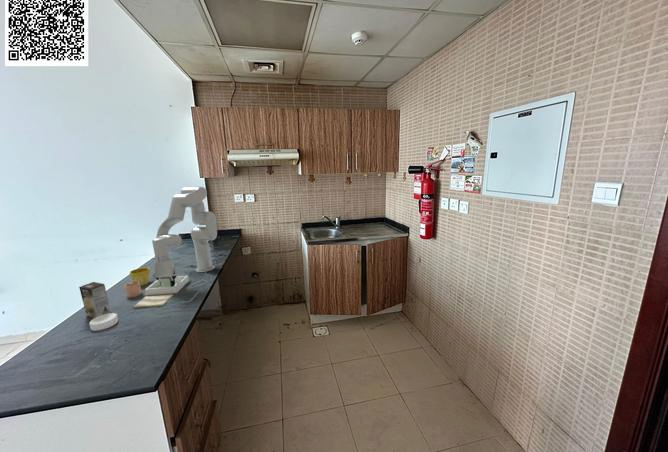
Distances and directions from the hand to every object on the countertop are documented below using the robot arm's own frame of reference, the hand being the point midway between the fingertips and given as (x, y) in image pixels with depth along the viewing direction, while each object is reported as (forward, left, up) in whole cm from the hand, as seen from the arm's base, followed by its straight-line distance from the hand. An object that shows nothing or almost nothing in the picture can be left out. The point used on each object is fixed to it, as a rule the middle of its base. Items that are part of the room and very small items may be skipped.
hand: (168, 286), depth 160 cm
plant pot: (-11, -21, -2) cm, 24 cm away
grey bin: (0, 0, -2) cm, 2 cm away
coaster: (+36, -12, -2) cm, 38 cm away
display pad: (+16, 0, -2) cm, 16 cm away
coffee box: (+25, -22, -2) cm, 33 cm away
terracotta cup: (+6, -16, -2) cm, 17 cm away
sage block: (0, 0, -1) cm, 1 cm away
